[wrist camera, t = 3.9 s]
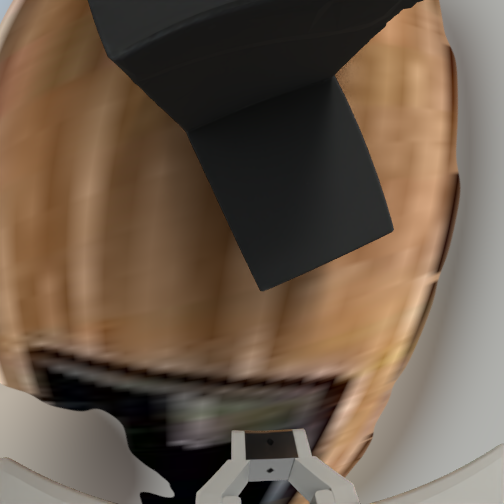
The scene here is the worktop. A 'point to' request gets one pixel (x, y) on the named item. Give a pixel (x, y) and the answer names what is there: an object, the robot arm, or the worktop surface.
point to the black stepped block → (264, 115)
